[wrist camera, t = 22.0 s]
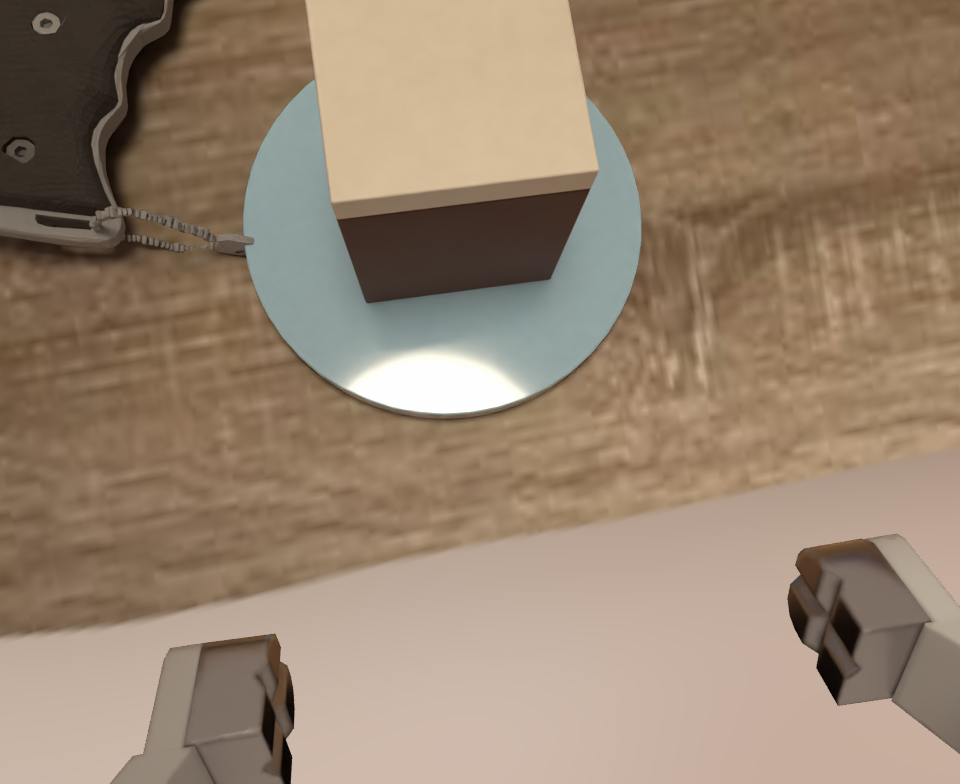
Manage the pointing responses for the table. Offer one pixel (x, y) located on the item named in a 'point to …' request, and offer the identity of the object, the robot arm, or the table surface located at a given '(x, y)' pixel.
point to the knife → (73, 119)
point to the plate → (440, 317)
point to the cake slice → (451, 139)
